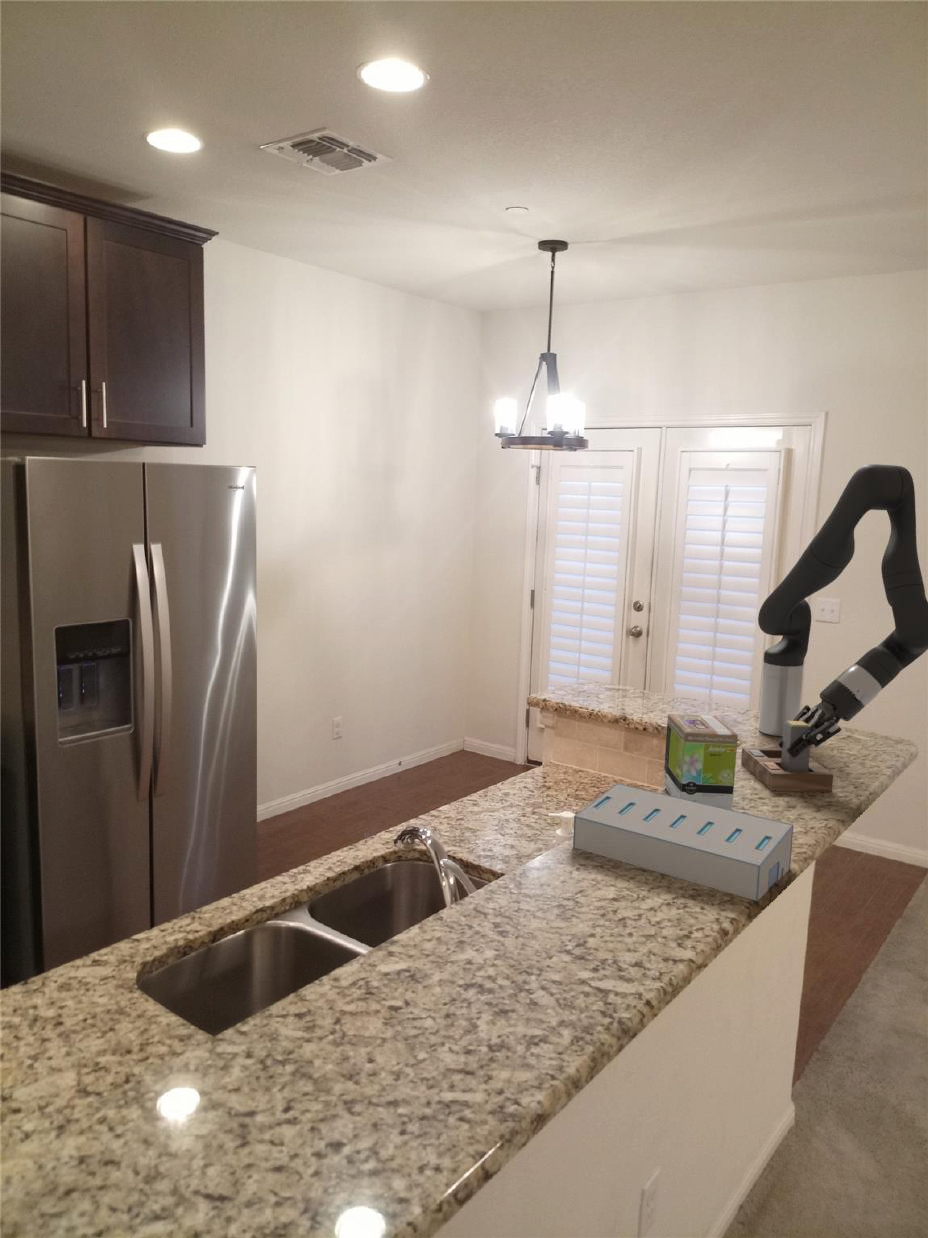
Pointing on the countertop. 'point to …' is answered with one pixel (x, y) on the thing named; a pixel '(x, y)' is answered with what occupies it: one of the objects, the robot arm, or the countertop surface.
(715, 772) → the tea box
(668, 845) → the multi-port usb hub
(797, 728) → the grey rectangular block
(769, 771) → the dock
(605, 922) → the countertop surface
